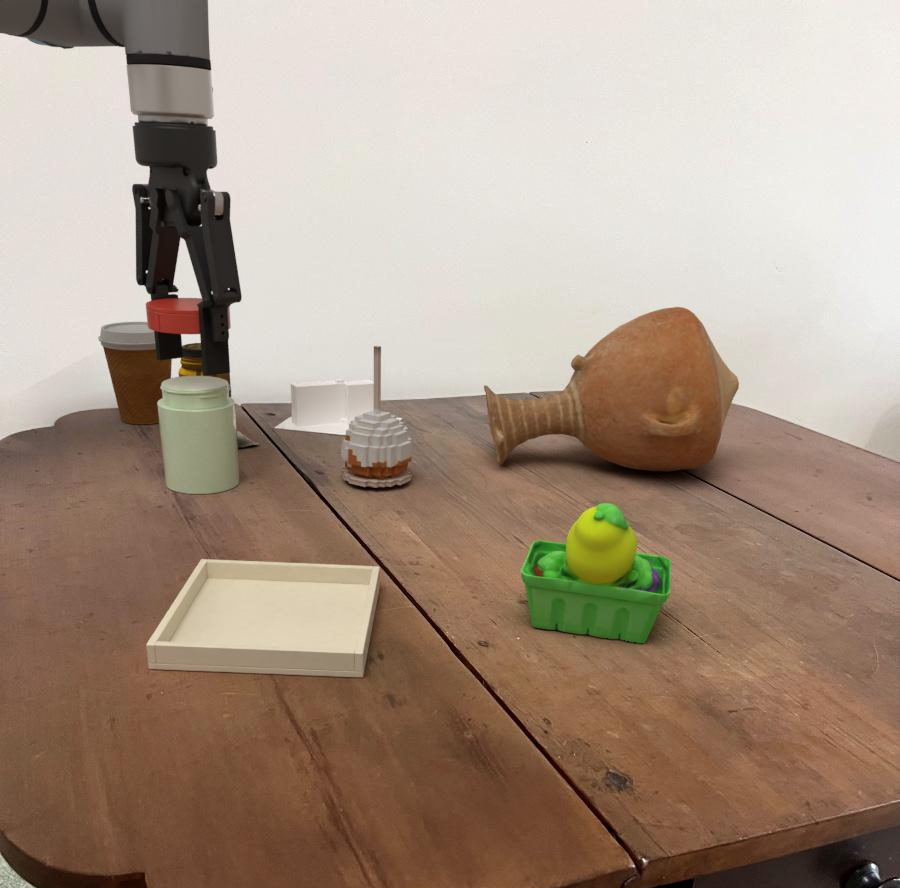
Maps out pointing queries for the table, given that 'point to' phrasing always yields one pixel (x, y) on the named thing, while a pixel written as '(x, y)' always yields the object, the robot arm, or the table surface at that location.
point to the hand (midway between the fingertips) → (192, 365)
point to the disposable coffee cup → (135, 370)
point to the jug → (633, 397)
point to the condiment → (194, 368)
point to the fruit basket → (596, 580)
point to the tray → (269, 619)
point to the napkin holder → (328, 405)
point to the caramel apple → (377, 444)
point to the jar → (198, 435)
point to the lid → (175, 315)
